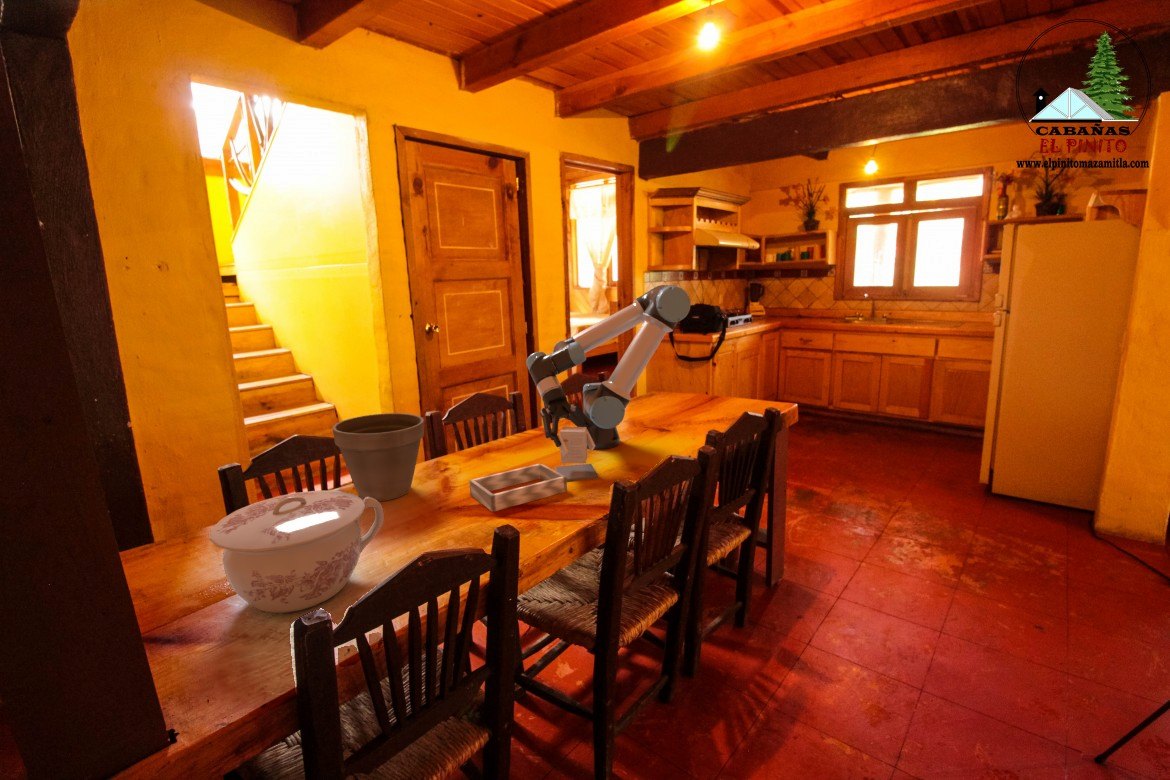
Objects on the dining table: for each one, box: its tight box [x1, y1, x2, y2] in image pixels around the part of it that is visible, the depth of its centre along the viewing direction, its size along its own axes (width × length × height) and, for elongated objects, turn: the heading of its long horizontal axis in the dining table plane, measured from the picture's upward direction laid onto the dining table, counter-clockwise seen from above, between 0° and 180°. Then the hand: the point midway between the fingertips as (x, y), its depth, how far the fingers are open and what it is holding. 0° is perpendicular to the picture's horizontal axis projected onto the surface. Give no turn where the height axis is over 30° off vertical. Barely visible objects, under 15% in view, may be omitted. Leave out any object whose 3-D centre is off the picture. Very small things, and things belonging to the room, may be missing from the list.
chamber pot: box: [208, 490, 385, 614], centre depth 111 cm, size 28×28×21 cm
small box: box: [559, 426, 588, 464], centre depth 176 cm, size 8×6×10 cm
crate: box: [468, 463, 568, 513], centre depth 163 cm, size 24×15×4 cm, turn 125°
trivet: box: [554, 463, 599, 482], centre depth 178 cm, size 12×12×1 cm
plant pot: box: [332, 412, 425, 502], centre depth 164 cm, size 25×25×22 cm
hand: (579, 451), depth 174 cm, fingers closed on small box, 9 cm apart
